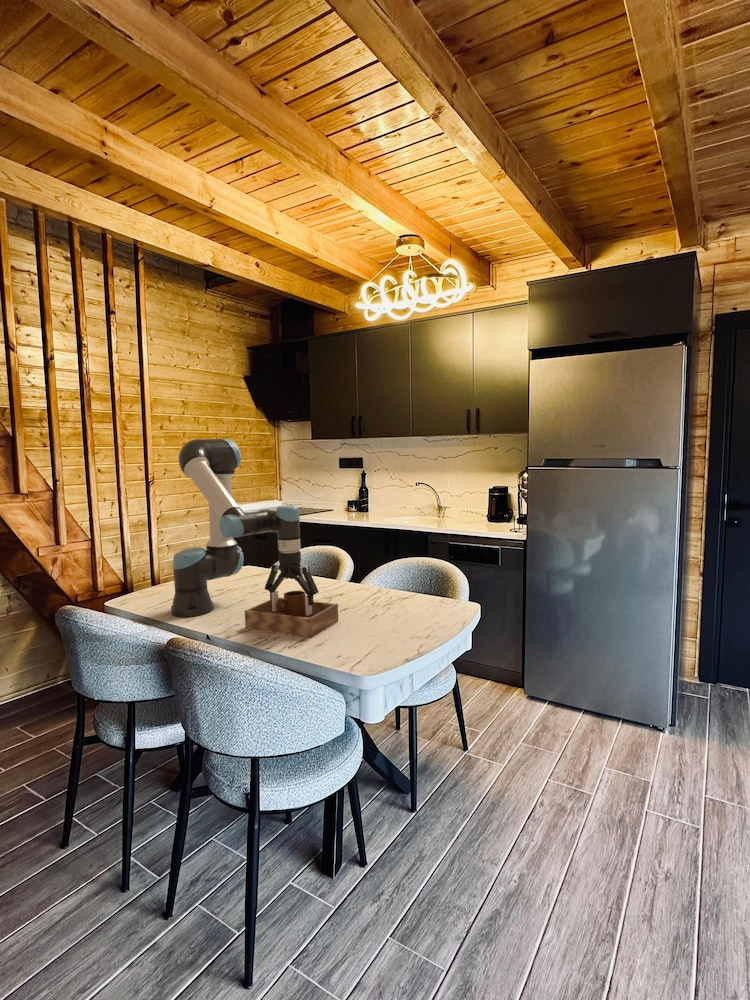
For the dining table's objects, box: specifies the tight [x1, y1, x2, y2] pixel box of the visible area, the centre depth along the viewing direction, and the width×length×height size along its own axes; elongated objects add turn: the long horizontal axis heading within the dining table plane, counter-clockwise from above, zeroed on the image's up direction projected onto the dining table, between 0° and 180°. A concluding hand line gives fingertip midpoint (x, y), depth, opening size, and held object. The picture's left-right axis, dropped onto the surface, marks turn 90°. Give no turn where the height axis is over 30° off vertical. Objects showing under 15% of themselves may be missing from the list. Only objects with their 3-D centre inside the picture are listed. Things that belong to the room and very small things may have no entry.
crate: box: [244, 596, 339, 638], centre depth 185 cm, size 26×18×6 cm
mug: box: [276, 590, 307, 617], centre depth 185 cm, size 12×8×9 cm, turn 141°
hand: (292, 612), depth 185 cm, fingers open, 13 cm apart
